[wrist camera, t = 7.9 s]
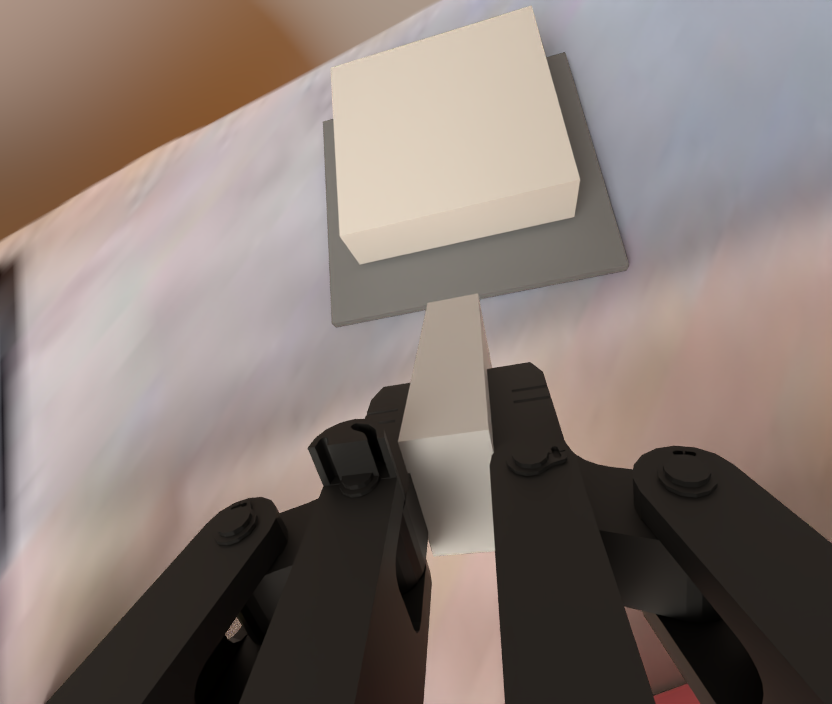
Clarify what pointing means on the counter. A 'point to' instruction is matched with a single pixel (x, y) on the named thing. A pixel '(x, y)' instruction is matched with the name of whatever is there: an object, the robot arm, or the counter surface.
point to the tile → (450, 140)
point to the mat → (483, 242)
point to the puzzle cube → (677, 696)
